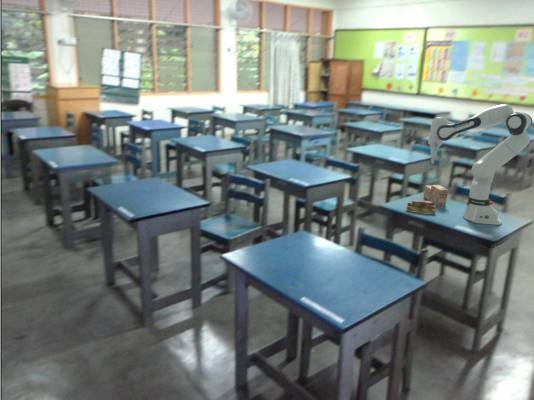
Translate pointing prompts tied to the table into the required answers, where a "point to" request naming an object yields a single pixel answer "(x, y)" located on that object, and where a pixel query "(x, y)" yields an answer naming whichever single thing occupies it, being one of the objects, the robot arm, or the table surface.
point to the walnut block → (421, 204)
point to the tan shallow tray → (421, 209)
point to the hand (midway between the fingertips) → (432, 162)
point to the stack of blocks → (436, 194)
